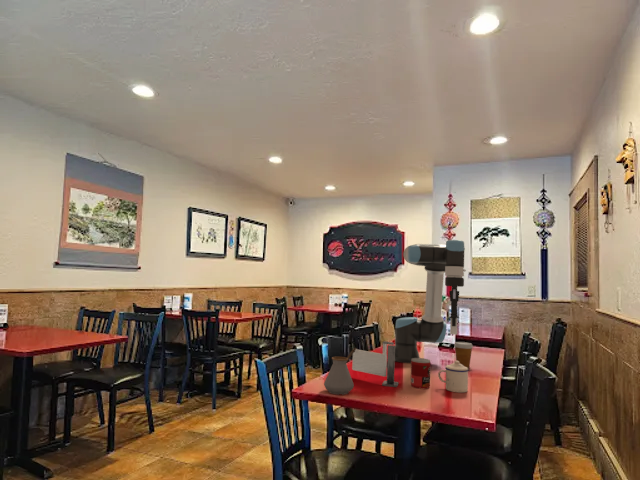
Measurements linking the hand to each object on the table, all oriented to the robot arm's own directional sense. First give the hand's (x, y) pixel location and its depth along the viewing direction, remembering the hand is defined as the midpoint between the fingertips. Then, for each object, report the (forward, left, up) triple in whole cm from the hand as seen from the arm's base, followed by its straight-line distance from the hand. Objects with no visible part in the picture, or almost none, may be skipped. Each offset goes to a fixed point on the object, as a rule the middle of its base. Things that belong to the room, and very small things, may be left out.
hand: (453, 334), depth 183 cm
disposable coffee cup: (-55, +5, -23) cm, 60 cm away
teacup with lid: (0, 0, -23) cm, 23 cm away
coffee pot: (+20, -41, -23) cm, 51 cm away
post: (+4, -25, -22) cm, 34 cm away
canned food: (+1, -13, -23) cm, 26 cm away
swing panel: (0, -34, -19) cm, 39 cm away
